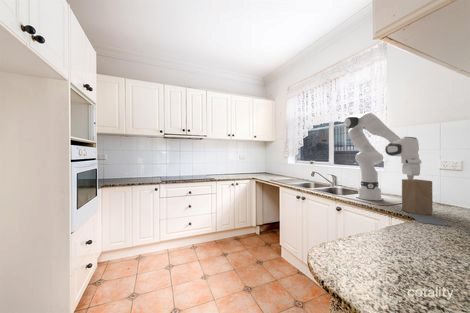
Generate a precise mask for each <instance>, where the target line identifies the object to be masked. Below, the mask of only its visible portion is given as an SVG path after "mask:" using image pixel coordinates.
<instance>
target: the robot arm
mask: <svg viewBox="0 0 470 313" xmlns="http://www.w3.org/2000/svg"><path fill="white" fill-rule="evenodd" d="M344 126H345V128H347V129H349V130H348V136H349V139H350V141H351V143H352V144H353V146H354V148H355V150H356V151H358V153H356V155H355V159H354V160H355V162H356V163H357V164H358V165H359V169H360V174H361V179H360V180H361V181H360V186H359V188H357V193H358V194H356V197H355V198H356V199H361V200H365V201H366V200H367V201H384V200H385V199H384V198H383V197H382V191H381V190H382V189H381V188H380V187H379V180H378V179H379V176H378V174H379V173H378V171H377V170H376V168H375V165H378V164H382V162H383V161H384V155H383V154H382V153H380V152H379V151H378V150H377V149H376V147H374V146H373V145H372V143H370V141H369V139H368V138H367V136H366V134H365V133H364V130H365V129H366V130H367V132H368V133H370V134H371V135H373V136H377V137H381V138H383V139H386V140H387V141H388V142H389V143H387V144H386V146H385V149H384V150H385V151H384V152H385V153H386V154H387V156H391V157H401V159H400V160H401V161H400V163H401V164H402V167H401V170H402V171H401V172H402V174H403V175H406V176H407V179H415V178H414V177H415V176H420V174H421V165H422V160H421V159H420V155H419V150H420V146H419V145H420V144H419V141H418V140H419V139H418V138H417V137H415V136H414V137H413V136H402V137H401V138H400V137H399V136H398V135H397V134H396V133H395V132H394V131H393V130H391V129H390V128H389V127H388V126H387V125H386V124H385V123H384V122H383V121H382V120H381V119H380V118H379V117H378V116H377V115H375V114H374V113H372V112H369V111H368V112H365V113H363V114H355V115H349V116H347V117H345V119H344Z"/></svg>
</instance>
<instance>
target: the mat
mask: <svg viewBox="0 0 470 313" xmlns="http://www.w3.org/2000/svg"><path fill="white" fill-rule="evenodd" d="M407 215H408V216H410V217H411V218H413V219H414V220H416V222H418V223H421V224H427V225H436V226H445V227H453V225H452V224H450V223H449V222H447V221H444V220H443V219H441V218H440V217H437V216H435V215H419V214H412V213H409V212H407Z"/></svg>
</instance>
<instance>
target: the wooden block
mask: <svg viewBox="0 0 470 313" xmlns="http://www.w3.org/2000/svg"><path fill="white" fill-rule="evenodd" d="M401 211H402V212H406V213H410V214H419V215H429V216H433V212H434V210H433V181H432V180H428V179H427V180H425V179H418V178H417V179H416V178H413V179H408V178H406V179H405V178H402V179H401Z"/></svg>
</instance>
